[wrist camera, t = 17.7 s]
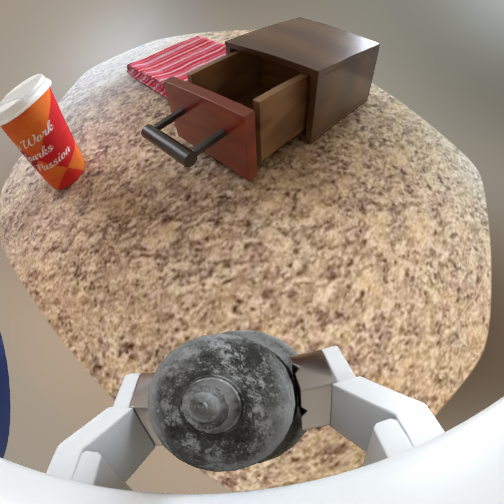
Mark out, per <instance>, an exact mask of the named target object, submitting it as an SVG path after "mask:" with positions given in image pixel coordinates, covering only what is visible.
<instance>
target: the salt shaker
mask: <svg viewBox="0 0 504 504" xmlns="http://www.w3.org/2000/svg"><path fill="white" fill-rule="evenodd" d="M294 355H298V354H297V352H296V351H295V350H294V349H293V348H291V347H290V346H288V345H287V344H286V343H284V342H283V341H282V340H280V339H278V338H276V337H273V336H271V335H268V334H266V333H263V332H257V331H250V330H238V331H228V332H224V333H221V334H215V335H205V336H201V337H198V338H195V339H193V340H190V341H187V342H185V343H183V344H182V345H180V346H179V347H177V348H176V349H174V350H173V351H171V352H170V353H169V354H168V356H167V357H166V358H165V359H164V360H163V361H162V362H161V363H160V365H159V366H158V368H157V370H156V372H155V374H154V376H153V378H152V380H151V383H150V388H149V393H148V398H147V399H148V413H149V418H150V421H151V424H152V427H153V429H154V432H155V434H156V435H157V437H158V438H159V440H160V441H161V443H162V444H163V445H164V447H165V448H166V449H167V450H168V451H170V452H171V453H172V454H173V455H174V456H176V457H177V458H178V459H179V460H181V461H183V462H185V463H187V464H189V465H191V466H193V467H196V468H200V469H204V470H209V471H215V472H218V471H235V470H238V469H241V468H245V467H248V466H251V465H254V464H256V463H261V462H264V461H267V460H270V459H273V458H275V457H278V456H280V455H281V454H283V453H284V452H286V451H287V450H288V449H290V448H291V447H293V446H294V445H295V444H296V443H297V441H298V440H299V439H300V438H301V437H302V435H303V434H304V433H305V432H306V430H302V427H301V424H300V420H299V417H298V409H297V407H298V401H299V399H298V395H297V392H296V382H295V380H294V377H293V375H292V373H291V370H290V368H289V356H294Z"/></svg>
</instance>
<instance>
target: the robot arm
mask: <svg viewBox="0 0 504 504" xmlns="http://www.w3.org/2000/svg"><path fill="white" fill-rule="evenodd" d="M289 368H290V370H291V373H292V375H293V377H294V380H295V382H296V392H297V395H298V399H299V401H298V407H297V409H298V417H299V420H300V424H301V427H302V430H308V429H313V428H318V427H322V426H327V425H330V426H331V427H332V428H334V429H335V430H336V431H338V432H339V433H341V434H342V435H343V436H345V437H346V438H347V439H349V440H350V441H352V442H353V443H355V444H356V445H357V446H359V447H360V448H362V449H363V450H365V451H366V452H367V453H366V457H365V460H364V463H363V466H362V467H360V468H357V469H354V470H351V471H347V472H344V473H340V474H337V475H333V476H329V477H325V478H321V479H317V480H312V481H308V482H303V483H298V484H293V485H288V486H282V487H276V488H269V489H262V490H254V491H244V492H233V493H218V494H164V493H148V492H137V491H133V490H132V489H131V488H130V487H129V486H128V485H127V484H126V483H125V482H126V481H127V480H128V479H129V478H130V477H131V475H132V474H133V473H134V472H135V471H136V470H137V468H138V467H139V466H140V465H141V464H142V462H143V461H144V460H145V459H146V458H147V457H148V455H149V454H150V453H151V452H152V451H153V449H154V448H155V445H163V444H162V443H161V441H160V440H159V438H158V437H157V435H156V434H155V432H154V429H153V427H152V424H151V421H150V418H149V413H148V399H147V398H148V393H149V388H150V383H151V380H152V378H153V376H154V374H155V373H128V374H127V375H125V377H124V379H123V382H122V384H121V387H120V389H119V392H118V394H117V397H116V400H115V402H114V405H113V407H109V408H107V409H106V410H104V411H103V412H102V413H101V414H99V415H98V416H96V417H95V418H94V419H92V420H91V421H90V422H89V423H87V424H86V425H84V426H83V427H82V428H80V429H79V430H78V431H76V432H75V433H74V434H72V435H71V436H70V437H68V438H67V439H66V440H64V441H63V442H61V443H60V444H59V445H58V447H57V449H56V452H55V454H54V456H53V458H52V461H51V463H50V465H49V468H48V470H47V473H46V474H45V473H42V472H39V471H36V470H33V469H29V468H27V467H24V466H21V465H18V464H16V463H13V462H10V461H8V460H5V459H3V458H0V504H504V397H502V398H501V399H500V400H498V401H497V402H495V403H494V404H492V405H491V406H489V407H487V408H486V409H484V410H483V411H481V412H480V413H478V414H476V415H475V416H473V417H472V418H470V419H468V420H466V421H465V422H463V423H461V424H459V425H458V426H456V427H454V428H452V429H450V430H448V431H446V432H445V431H444V430H443V428H442V427H441V425H440V424H439V423H438V421H437V420H436V418H435V417H434V416H433V414H432V413H431V411H430V410H429V409H428V407H427V406H426V404H425V403H422V402H420V401H417V400H415V399H412V398H410V397H407V396H405V395H402V394H400V393H398V392H395V391H393V390H390V389H388V388H386V387H383V386H381V385H379V384H377V383H374V382H372V381H370V380H367V379H365V378H363V377H361V376H360V377H355V375H354V373H353V372H352V370H351V368H350V366H349V365H348V363H347V361H346V359H345V358H344V356H343V354H342V353H341V351H340V349H339V347H337V346H332V347H328V348H324V349H321V350H318V351H313V352H309V353H304V354H299V355H294V356H289Z"/></svg>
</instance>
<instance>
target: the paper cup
mask: <svg viewBox="0 0 504 504" xmlns="http://www.w3.org/2000/svg"><path fill="white" fill-rule="evenodd" d="M50 85H51V81H50V80H49V79H46V78H45V77H44V76H43V75H42V74H37V75H34V76H32V77H30V78H28V79H27V80H25V81H24V82H22V83H20V84H19V85H18V86H16V87H15V88H14V89H13V90H12V91H11V92H9V93H8V94H7V95H6V96H5V97H4V100H2V101H1V102H0V126H1V127H2V129H3V130H4V131H5V133H6V134H7V135H8V136H9V138H10V139H11V140H12V141H13V143H14V144H15V145H16V146H17V147H18V149H19V150H20V151H21V152H22V154H23V155H24V156H25V157H26V158H27V160H28V161H29V162H30V163H31V164H32V165H33V166H34V168H35V169H36V170H37V171H38V172H39V173H40V174H41V175H42V177H43V178H44V179H45V180H46V181H47V182H48V183H49V184H50V185H51V186H52V187H53V188H55V189H64V188H66V187H68V186H70V185H71V184H72V183H74V182H75V181H76V180H77V179H78V178H79V177H80V175H81V174H82V172H83V170H84V167H85V161H84V159H83V156H82V154H81V152H80V150H79V148H78V146H77V144H76V142H75V140H74V138H73V136H72V134H71V132H70V130H69V128H68V126H67V124H66V121H65V119H64V117H63V115H62V113H61V111H60V108H59V106H58V104H57V102H56V99H55V97H54V95H53V93H52V90H51V88H50Z"/></svg>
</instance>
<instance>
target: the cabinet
mask: <svg viewBox="0 0 504 504" xmlns="http://www.w3.org/2000/svg"><path fill="white" fill-rule="evenodd" d="M379 46H380V44H379V43H376V42H374V41H371V40H369V39H366V38H364V37H361V36H359V35H356V34H353V33H350V32H347V31H344V30H341V29H339V28H335V27H332V26H329V25H326V24H322V23H319V22H315V21H312V20H308V19H304V18H296V19H292V20H289V21H285V22H281V23H278V24H274V25H271V26H268V27H265V28H261V29H258V30H255V31H252V32H249V33H247V34H244V35H241V36H238V37H236V38H233V39H230V40H228V41H225V47H226V55H227V54H229V53H231V52H234V51H236V50H238V51H242V52H245V53H249V54H252V55H255V56H259V57H262V58H265V59H268V60H271V61H274V62H277V63H280V64H282V65H285V66H288V67H291V68H293V69H296V70H298V71H301V72H304V73H306V74H309V75H311V84H310V95H309V105H308V115H307V124H306V129H304V130H303V131H301V132H300V133H299V134H297V135H296V137H298V138H300V139H302V140H303V141H305V142H307V143H309V144H311V143H312V142H313V141H315V140H316V139H317V138H318V137H320V136H321V135H322V134H324V133H325V132H326V131H327V130H329V129H330V128H331V127H332V126H334V125H335V124H336V123H338V122H339V121H340V120H341V119H343V118H344V117H345V116H347V115H348V114H349V113H351V112H352V111H353V110H355V109H356V108H357V107H358V106H360V105H361V104H362V103H364V102H365V101H366V100H367V99H368V95H369V91H370V87H371V83H372V78H373V73H374V69H375V64H376V60H377V56H378V51H379Z"/></svg>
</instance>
